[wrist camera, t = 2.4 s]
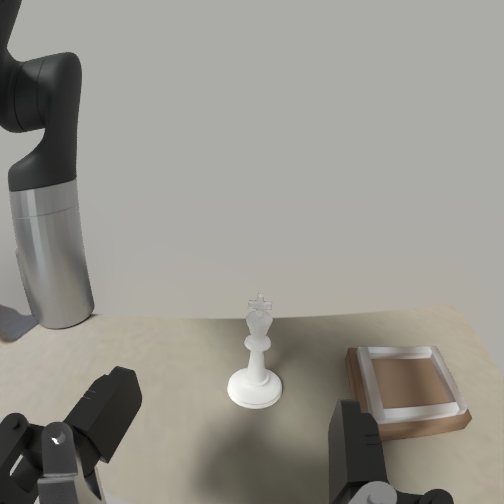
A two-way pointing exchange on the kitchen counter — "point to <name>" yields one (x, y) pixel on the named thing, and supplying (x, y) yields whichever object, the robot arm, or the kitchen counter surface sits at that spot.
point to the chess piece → (256, 363)
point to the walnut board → (406, 391)
